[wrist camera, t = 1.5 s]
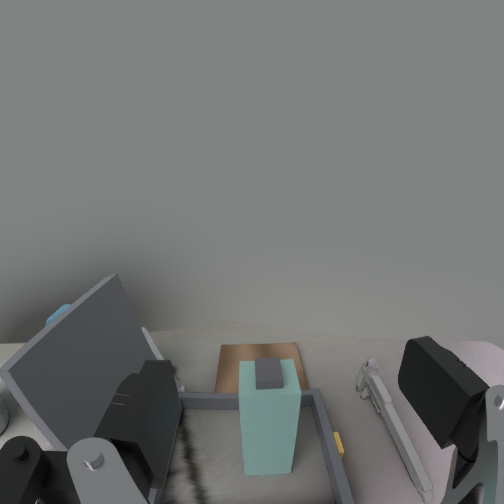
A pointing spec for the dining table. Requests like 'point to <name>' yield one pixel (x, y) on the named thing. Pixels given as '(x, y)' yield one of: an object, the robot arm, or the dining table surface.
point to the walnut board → (249, 352)
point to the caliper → (394, 427)
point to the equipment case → (116, 377)
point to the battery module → (268, 415)
